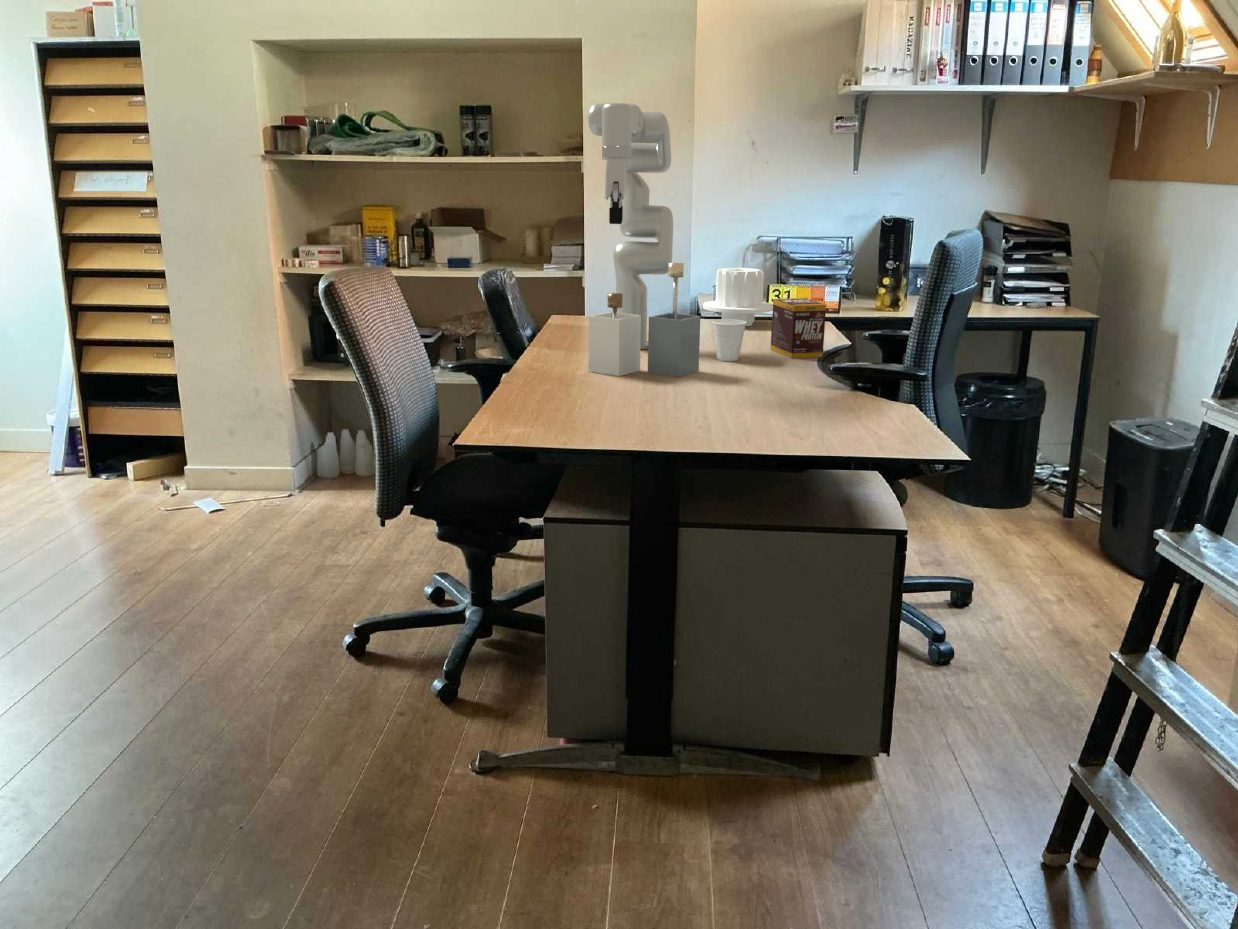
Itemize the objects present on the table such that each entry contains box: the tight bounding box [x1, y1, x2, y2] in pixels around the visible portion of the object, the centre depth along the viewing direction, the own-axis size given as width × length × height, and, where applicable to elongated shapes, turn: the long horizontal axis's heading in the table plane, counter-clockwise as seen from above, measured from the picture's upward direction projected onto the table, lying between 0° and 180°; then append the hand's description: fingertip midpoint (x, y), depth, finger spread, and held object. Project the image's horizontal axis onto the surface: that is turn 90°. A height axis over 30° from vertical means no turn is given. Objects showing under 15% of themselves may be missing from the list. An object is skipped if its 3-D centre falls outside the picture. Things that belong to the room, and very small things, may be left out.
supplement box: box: [770, 297, 827, 359], centre depth 307 cm, size 10×15×16 cm
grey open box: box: [647, 312, 701, 378], centre depth 277 cm, size 10×10×15 cm
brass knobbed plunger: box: [667, 262, 685, 320], centre depth 274 cm, size 8×8×19 cm
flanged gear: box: [702, 267, 773, 327], centre depth 361 cm, size 25×25×19 cm
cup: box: [711, 318, 747, 362], centre depth 296 cm, size 10×10×11 cm
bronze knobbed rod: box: [607, 292, 623, 319], centre depth 277 cm, size 8×8×19 cm
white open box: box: [588, 311, 641, 377], centre depth 278 cm, size 10×10×15 cm
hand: (616, 222), depth 269 cm, fingers open, 9 cm apart
